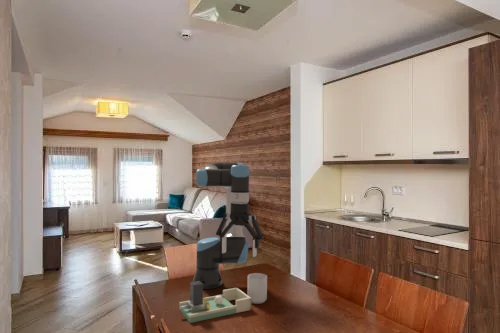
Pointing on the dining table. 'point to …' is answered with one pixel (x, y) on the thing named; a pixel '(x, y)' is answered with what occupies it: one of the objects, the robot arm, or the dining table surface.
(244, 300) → the pitch
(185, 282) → the dining table surface
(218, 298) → the ball
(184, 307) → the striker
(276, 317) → the dining table surface
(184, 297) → the dining table surface
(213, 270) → the robot arm
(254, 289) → the mug
